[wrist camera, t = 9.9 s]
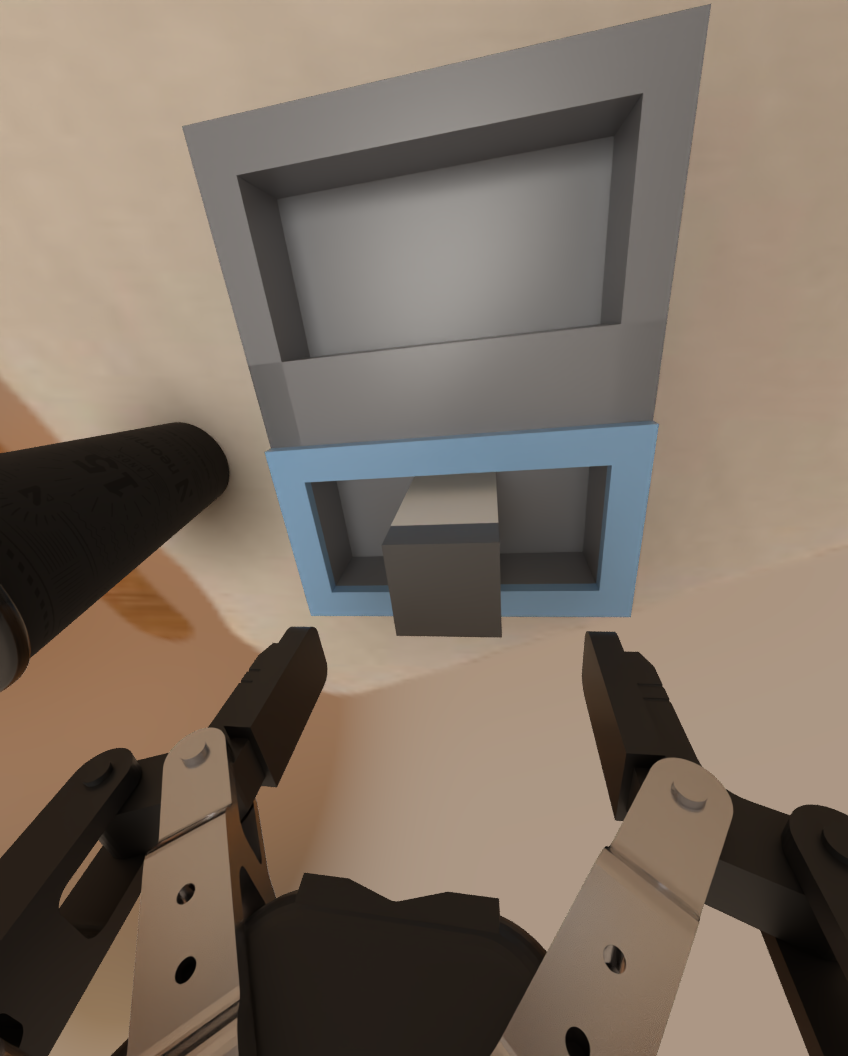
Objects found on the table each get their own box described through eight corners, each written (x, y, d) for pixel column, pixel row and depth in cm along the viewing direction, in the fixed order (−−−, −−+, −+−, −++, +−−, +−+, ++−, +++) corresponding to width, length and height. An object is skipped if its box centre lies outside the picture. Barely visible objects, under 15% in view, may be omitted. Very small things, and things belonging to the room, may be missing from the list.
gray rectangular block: (495, 466, 20) (499, 542, 13) (497, 536, 22) (501, 637, 15) (417, 470, 21) (381, 545, 14) (424, 538, 23) (396, 635, 16)
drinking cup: (228, 543, 26) (-320, 1007, 8) (117, 477, 25) (-781, 850, 7) (272, 448, 23) (-498, 891, 5) (145, 367, 22) (-1411, 564, 4)
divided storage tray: (655, 83, 14) (722, -13, 10) (605, 565, 23) (630, 617, 19) (245, 167, 17) (169, 118, 13) (339, 569, 26) (310, 615, 22)
